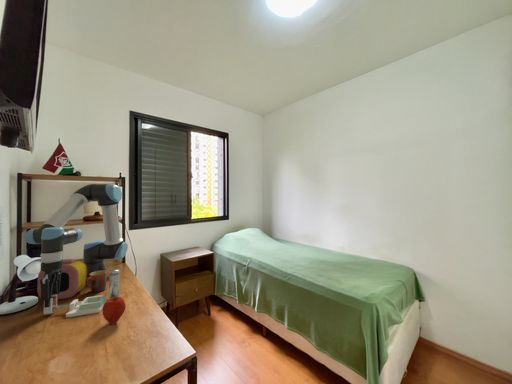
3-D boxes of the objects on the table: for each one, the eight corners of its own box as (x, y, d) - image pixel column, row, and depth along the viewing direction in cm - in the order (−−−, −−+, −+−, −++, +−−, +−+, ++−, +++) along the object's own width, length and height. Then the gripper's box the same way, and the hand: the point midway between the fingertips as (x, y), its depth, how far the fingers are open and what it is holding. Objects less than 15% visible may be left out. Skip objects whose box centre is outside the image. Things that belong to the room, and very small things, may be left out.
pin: (86, 309, 103) (86, 294, 103) (44, 315, 97) (44, 300, 98) (89, 305, 106) (89, 291, 106) (48, 311, 101) (49, 296, 101)
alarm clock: (35, 302, 111) (36, 264, 111) (50, 292, 121) (52, 258, 122) (76, 298, 114) (77, 262, 115) (87, 290, 125) (88, 256, 126)
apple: (129, 318, 96) (130, 294, 96) (113, 330, 88) (113, 303, 88) (114, 316, 98) (115, 292, 99) (96, 326, 90) (97, 301, 90)
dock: (99, 312, 101) (100, 303, 101) (65, 317, 97) (65, 308, 97) (107, 300, 113) (107, 292, 113) (77, 305, 108) (77, 296, 108)
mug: (99, 286, 130) (99, 269, 130) (111, 288, 128) (111, 270, 128) (79, 295, 118) (79, 276, 118) (92, 297, 116) (92, 278, 117)
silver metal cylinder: (110, 297, 117) (111, 269, 117) (119, 295, 118) (120, 268, 119) (107, 300, 112) (108, 272, 113) (117, 299, 114) (118, 271, 114)
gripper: (51, 256, 107) (49, 304, 106) (30, 267, 91) (28, 322, 90) (70, 255, 109) (68, 301, 109) (52, 265, 94) (51, 319, 93)
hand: (50, 311), depth 100 cm, fingers closed on pin, 4 cm apart
